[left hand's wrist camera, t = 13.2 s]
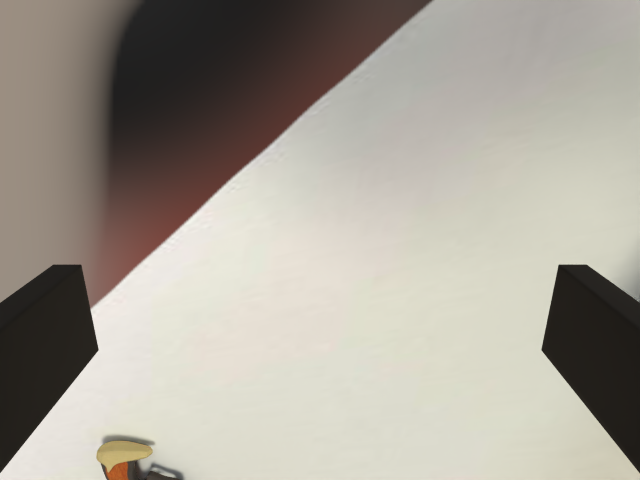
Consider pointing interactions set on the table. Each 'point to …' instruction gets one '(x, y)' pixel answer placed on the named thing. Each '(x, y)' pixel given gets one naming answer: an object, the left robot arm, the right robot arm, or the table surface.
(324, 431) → the table surface
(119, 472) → the toy gun
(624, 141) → the table surface
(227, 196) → the table surface
